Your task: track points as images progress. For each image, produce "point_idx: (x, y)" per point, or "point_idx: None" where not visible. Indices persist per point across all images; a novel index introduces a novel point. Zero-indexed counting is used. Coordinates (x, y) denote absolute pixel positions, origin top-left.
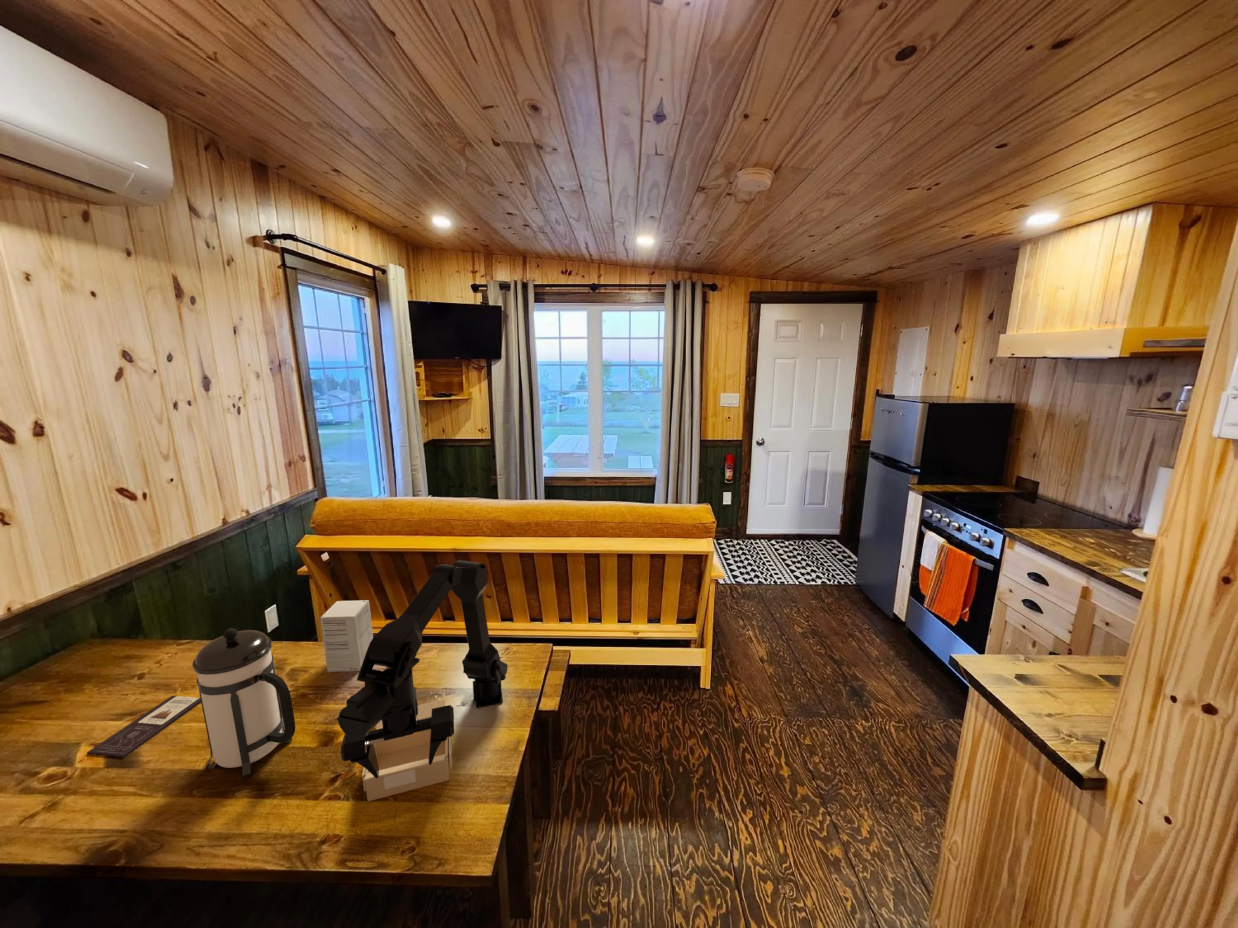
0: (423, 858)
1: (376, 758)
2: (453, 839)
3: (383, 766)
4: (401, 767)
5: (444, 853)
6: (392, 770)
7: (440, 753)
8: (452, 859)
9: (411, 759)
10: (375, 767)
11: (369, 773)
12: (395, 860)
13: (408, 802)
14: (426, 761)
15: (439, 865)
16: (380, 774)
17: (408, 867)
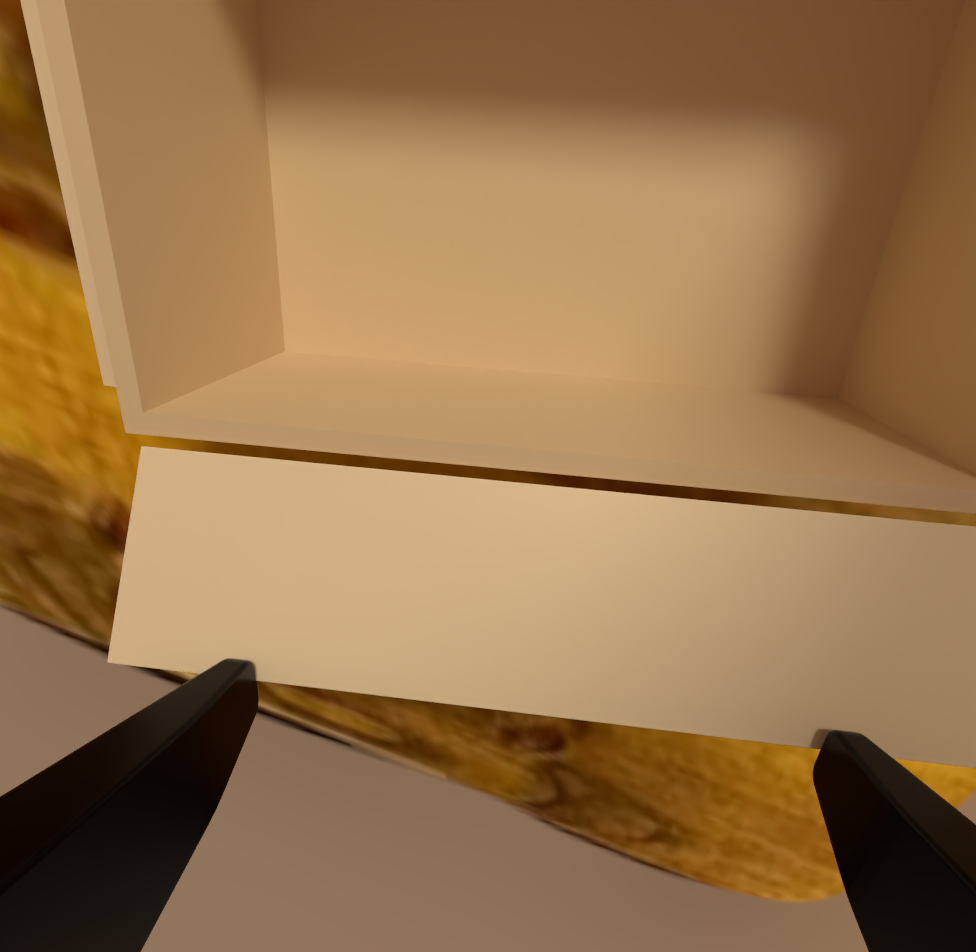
0: (596, 793)
1: (90, 839)
2: (743, 775)
3: (325, 11)
4: (495, 586)
5: (687, 810)
6: (399, 611)
7: (870, 54)
8: (714, 842)
9: (582, 21)
10: (146, 899)
11: (164, 465)
12: (477, 754)
13: (540, 481)
14: (781, 621)
15: (657, 840)
16: (275, 643)
17: (532, 799)
